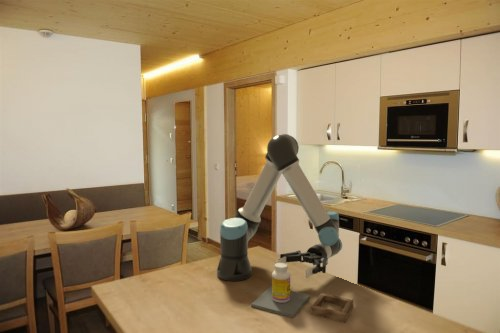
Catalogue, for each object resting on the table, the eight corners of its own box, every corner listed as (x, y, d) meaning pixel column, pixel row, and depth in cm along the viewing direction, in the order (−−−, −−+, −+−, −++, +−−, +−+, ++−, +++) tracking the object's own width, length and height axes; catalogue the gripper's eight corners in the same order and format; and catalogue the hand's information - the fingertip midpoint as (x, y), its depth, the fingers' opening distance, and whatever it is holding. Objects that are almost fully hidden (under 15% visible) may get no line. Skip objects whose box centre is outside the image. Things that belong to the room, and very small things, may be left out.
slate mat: (251, 306, 125) (251, 303, 125) (270, 288, 139) (270, 286, 138) (293, 318, 117) (293, 315, 117) (309, 297, 131) (309, 295, 131)
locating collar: (310, 313, 119) (311, 306, 119) (321, 299, 129) (321, 292, 129) (344, 322, 114) (345, 315, 114) (353, 306, 124) (353, 300, 124)
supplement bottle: (289, 304, 124) (289, 269, 123) (270, 302, 125) (270, 267, 124) (290, 295, 130) (291, 262, 129) (273, 294, 132) (273, 261, 130)
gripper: (346, 269, 139) (320, 288, 123) (293, 255, 155) (264, 270, 139) (347, 251, 138) (320, 268, 122) (293, 239, 154) (264, 252, 138)
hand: (290, 269), depth 131 cm, fingers open, 13 cm apart
